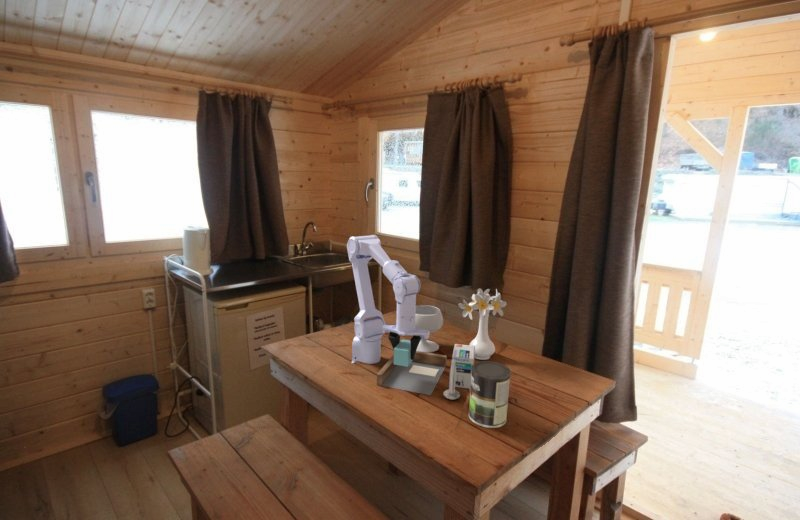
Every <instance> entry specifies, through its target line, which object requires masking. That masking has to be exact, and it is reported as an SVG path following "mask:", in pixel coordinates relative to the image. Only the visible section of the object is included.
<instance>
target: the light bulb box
mask: <svg viewBox="0 0 800 520" xmlns="http://www.w3.org/2000/svg"><path fill="white" fill-rule="evenodd" d="M453 346H454V347H453V351H452V357H451V360H452V359H455V360H456V379H455V380H456V381H455V382H456V383H455V384H456V385H455V388H461V389H462V388H463V389H468V392H470V388H471V373H472V371H471V367H472V365H473V364H474V363H475V358H474V355H475V346H470V345H469V344H459V343H455V344H454V345H453Z"/></svg>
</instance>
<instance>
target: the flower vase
mask: <svg viewBox="0 0 800 520" xmlns="http://www.w3.org/2000/svg"><path fill="white" fill-rule="evenodd" d="M490 290H491V289H490V288H487V289H485V290H484V291H483V289H482V288H477V289H476V294H475V293H473V294H471V295H472V296H470V299H471V300H472V301H470V302H469V303H468V302H467V301H466V300H465V299H464V298H463V299H462V303H458V304H457V305H458V307H459V308H460V309H462V310H463V311H462V317H463V318H466V317H467V316H468V318H469V319H470V320H471V321H472V320H473V311H474V310H478V312H479V320H478V322H479V323H478V330H477V331H478V332H477V334H476V336H475V338H473V339H472V340H471V341H470V342H469V344H468V345H470V346H475V355H474V359H476V360H479V361H480V360H481V361H488V360H489V359H490V358H491V356H492V355H493V354H495V352H496V347H495V344H494V342H493V340H491V338H490V336H489V331H488V329H489V328H488V326H489V315H490V312H491V311H492V316H496V315H497V313H498V315H499V316H501V317H503V316H504V311H503V309H502V308H506V306H507V304H508V303H507V302H506V301H503V300H502V295H501V293H500V292H498V289H497V288H495V295H492V296H491V294H489V292H490Z"/></svg>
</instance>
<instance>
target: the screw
mask: <svg viewBox="0 0 800 520" xmlns="http://www.w3.org/2000/svg"><path fill="white" fill-rule="evenodd" d="M455 379H456V360H455V359H452V358H451V360H450V368H449V383H448V389H445V391H443V394H442V395H443V396H444V398H446V399H448V400H451V401H453V400H457V399H459V398H460V397H461V393H460V392H459V391H458V390H456V387H455V385H456V384H455V383H456V382H455V381H456V380H455Z"/></svg>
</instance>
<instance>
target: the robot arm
mask: <svg viewBox="0 0 800 520" xmlns="http://www.w3.org/2000/svg"><path fill="white" fill-rule="evenodd" d="M346 249H347V255H348V261H349V262H350V263H351V266H352V273H353V278H354V282H355V290H356V294H357V299H358V306H359V312H358V313H357V314H356V315H355V317H354V318H353V320H354V327H353V331H354V333H355V335H354V338H353V340H352V344H351V349H352V350H351V358H352V359H351V364H354V363H356V362H359V363H360V362H361V363H362V364H369V365H371V364H377V363H379V362H380V361H381V353H382V352H381V344H382V343H381V342H382V341H381V339H382V338H383V335H384V334H386V333H388V334H389V335H388V337H387V338H388V341H389V342H390V344H391V346H392V349H393V351H394V348H395V347H396V346H397V345H398V344H399V342H400V341H401V336H403V337H404V336H410V337H411V339H409V340H410V342H411V360H413V359H414V358H415V353H416V350H417V347H418V345H419V342H420V340H421V339H422V338H424V339H426V340H428V339H429V338H430V334H429V331H426V330H422V329H419V328H416V327H415V313H416V306H417V294H418V293H420V291H421V281H420V279H419V278H418V276H417V275H415V274H411V273H408V272H407V271H406V270H405V268H404V267H403V266H402V265H401V264H400V262H399V261H398V260H396V259H395V260H394V259H391V258H390V257H389V255H388V254H387V252H386V251H385V250H384V249H383V247H382V242H381V240H380V239H379V237H378V236H377V234H371V235H360V236H353V235H352V236H350V237H349V239H348V241H347V243H346ZM372 259H373V260H374V261H376V262H377V263H378V265H380V266H381V267H382V274H384V277H386V278H387V280H389V282H390V283H391V284H392V289H393V293H394V296H395V297H394V299H395V301H396V324H394V325H393V324H392V325H390V324H386V321H385V318H384V317H383V313H382V312H381V311H380V310H378V309H377V308H376V306H375V304H376V303H375V300H374V295H373V288H372V283H371V278H370V277H371V276H370V272H369V267H368V266H369V265H368V263H369V262H370V261H371V260H372Z"/></svg>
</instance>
